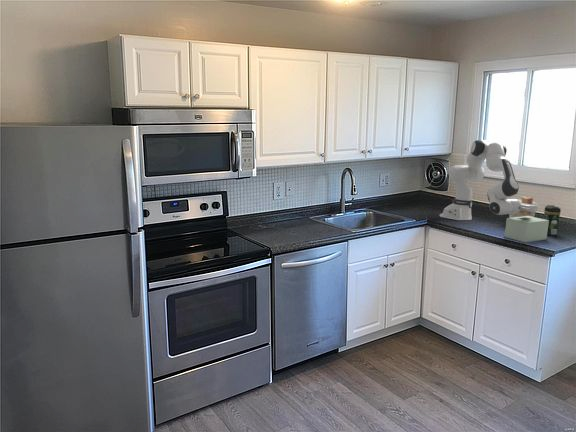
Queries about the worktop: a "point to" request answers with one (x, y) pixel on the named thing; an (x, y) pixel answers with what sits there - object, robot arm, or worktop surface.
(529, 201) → the block
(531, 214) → the canister
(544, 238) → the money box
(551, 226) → the coffee jar
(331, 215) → the worktop surface
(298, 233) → the worktop surface
